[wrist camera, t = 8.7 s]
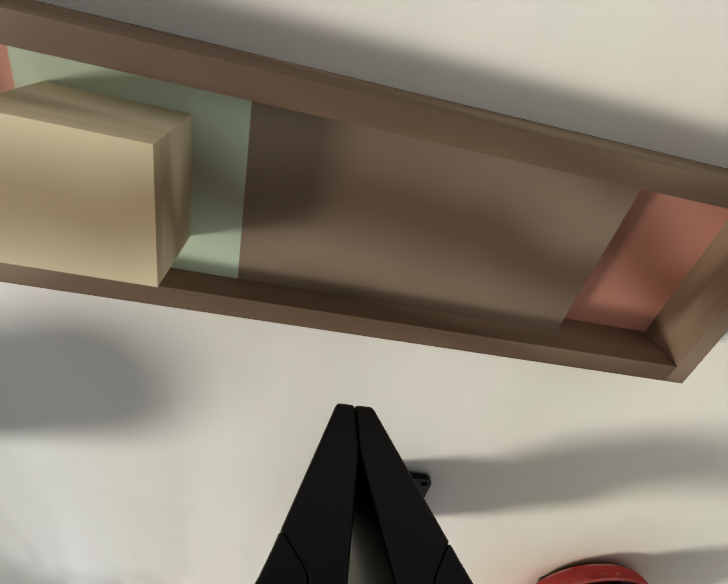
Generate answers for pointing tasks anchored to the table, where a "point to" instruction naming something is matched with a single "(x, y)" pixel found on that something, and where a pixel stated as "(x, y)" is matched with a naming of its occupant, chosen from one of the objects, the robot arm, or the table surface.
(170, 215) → the maple block
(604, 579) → the plant pot
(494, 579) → the table surface
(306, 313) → the trap channel
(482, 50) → the table surface
